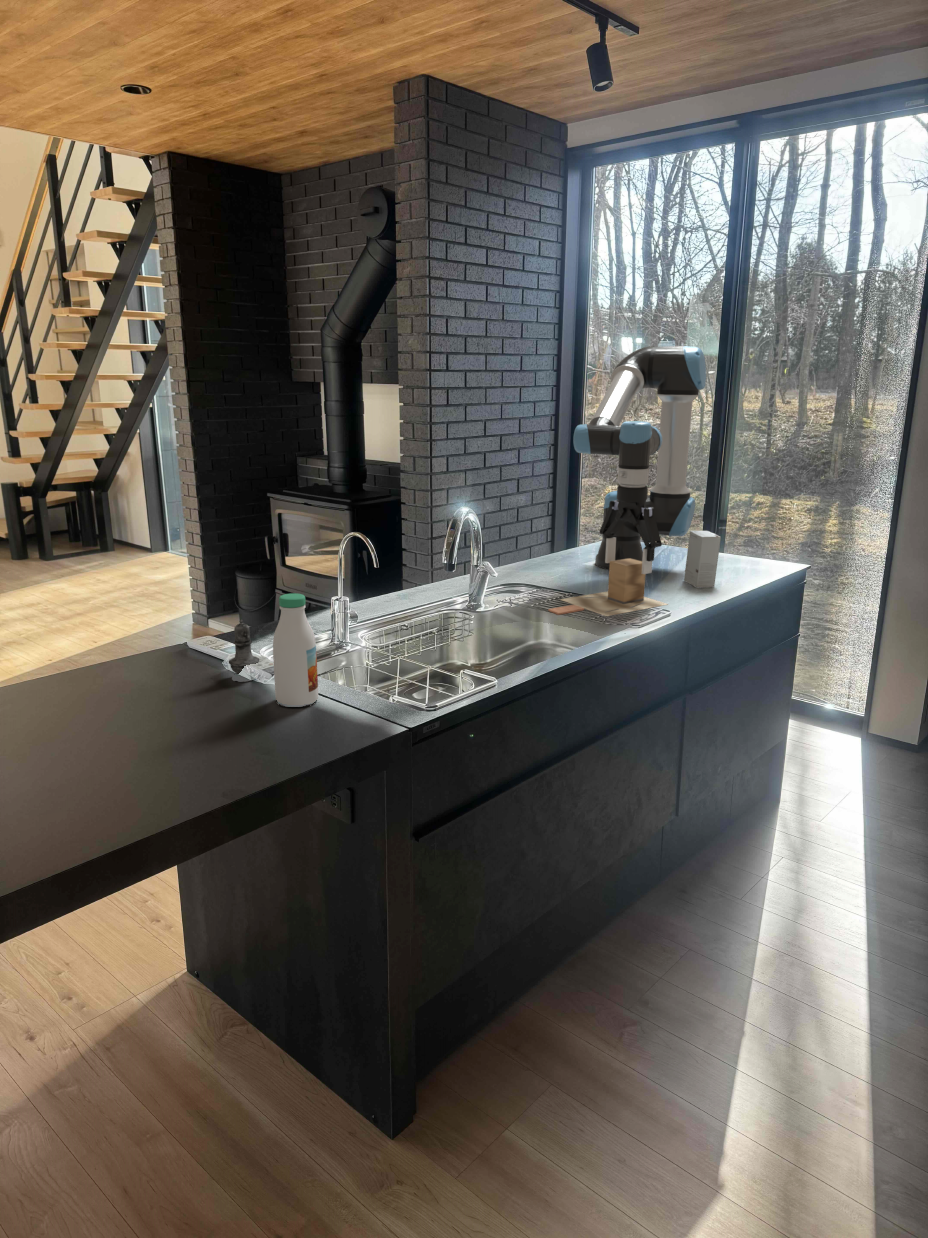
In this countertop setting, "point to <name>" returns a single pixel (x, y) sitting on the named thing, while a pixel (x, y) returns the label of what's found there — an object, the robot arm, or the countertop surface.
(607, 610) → the birch board
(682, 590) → the countertop surface
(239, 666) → the dark grey chess piece
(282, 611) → the milk bottle
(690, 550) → the skincare box
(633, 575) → the cardboard box
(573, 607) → the terracotta square block
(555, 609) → the salmon orange square block
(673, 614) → the countertop surface
